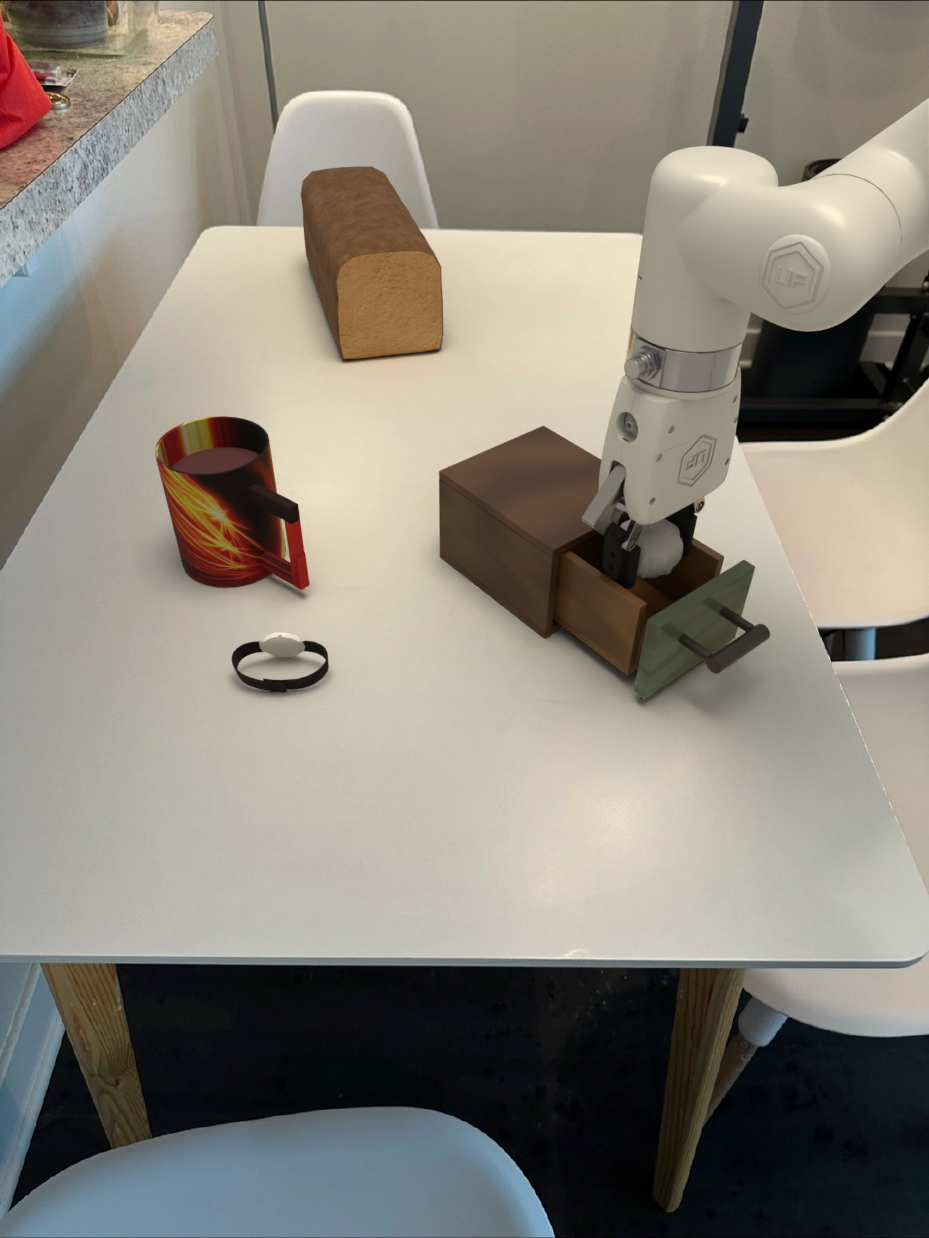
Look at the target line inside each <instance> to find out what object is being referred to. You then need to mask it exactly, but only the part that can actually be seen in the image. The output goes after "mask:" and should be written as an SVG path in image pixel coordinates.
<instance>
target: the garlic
mask: <svg viewBox="0 0 929 1238" xmlns="http://www.w3.org/2000/svg"><path fill="white" fill-rule="evenodd" d="M630 521H631V519H630V520H628V521H626V522H624V523H622V524H621V526H620V527H622V528H623V529H624V530H626V531H627V528H628V526H629V523H630ZM637 545H638V546H639V547H640V548H641V553H640V559H639V565H638V570H637V576H636V578H641V579H653V578H656V577H658V576H661V575H667V574H669V573H670V572H671V570H672V568H673V567H674V566H676V565H677V564H678V562H679V561H680V559H681V557H682V553H683V542H682V539H681V538H680V531H679V528H678V527H677V526H676V525H674V524H673V523H671V522H669V521H667V520H666V519H662V520H660V521H658V522H655V523H653V524H649V525H644V527H643V529H642V532H641V534H640V537H639V539H638V541H637Z"/></svg>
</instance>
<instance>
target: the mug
mask: <svg viewBox="0 0 929 1238" xmlns="http://www.w3.org/2000/svg"><path fill="white" fill-rule="evenodd" d="M154 457H155V461H156V464H157V469H158V473H159V476H160V480H161V481H160V482H161V485H162V488H163V493H164V497H165V500H166V504H167V508H168V513H169V516H170V520H171V525H172V529H173V533H174V537H175V540H176V545H177V549H178V553H179V557H180V560H181V564H182V568H183V570H184V572H185V573H186V574H187V576H189V577H190V578H191V579H192V580H194V581H195V582H198V583H200V584H202V585H205V586H209V587H212V588H213V587H214V588H237V587H242V586H247V585H250V584H254V583H256V582H258V581H259V582H260V581H261V580H263V579H265V578H267V577H268V576H270V575H274V576H276V577H278V578H280V579H281V580H283V581H284V582H286V583H288V584H290V585H292V586H293V587H295V588H296V589H298V590H300V591H303V590H305V589H306V588H309V586H310V579H309V570H308V563H307V562H308V561H307V555H306V552H305V547H304V539H303V531H302V524H301V516H300V509H299V503H297V502H295V501H294V500H291V499H290V498H288V497H285V496H284V495H282V494H280V493H278V490H277V483H276V476H275V470H274V463H273V455H272V449H271V443H270V437H269V434H268V432H267V431H266V429H265V428H264V427H262V426H261V425H260V424H258V423H256V422H254V421H252V420H249V419H247V418H243V417H238V416H228V415H227V416H226V415H224V416H223V415H222V416H221V415H219V416H218V415H217V416H208V417H201V418H197V419H193V420H190V421H185V422H183V423H181V424H179V425H176V426H174V427H172V428H171V429H169V430H168V431H167V432H165V433H164V434H163V435H162V436H161V437H159V439H158V441H157V442H156V444H155V447H154ZM282 520H283V522H284V529H285V535H286V542H287V547H286V543H285V535H284V529H283V522H282ZM287 549H288V556H289V561H288V560H286V559H285V557H286V552H287Z"/></svg>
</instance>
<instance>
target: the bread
mask: <svg viewBox="0 0 929 1238" xmlns="http://www.w3.org/2000/svg"><path fill="white" fill-rule="evenodd" d="M300 189H301V190H300V200H301V207H302V228H303V239H304V248H305V256H306V260H307V263H308V266H309V270H310V272H311V274H312V278H313V280H314V283H315V286H316V290H317V292H318V295H319V298H320V302H321V305H322V307H323V310H324V313H325V316H326V318H327V320H328V323H329V325H330V326H329V327H330V328H331V331H332V334H333V337H334V340H335V343H336V346H337V349H338V351H339V354H340V358H341V359H342V360H362V359H371V358H379V357H380V358H381V357H389V356H400V355H408V354H417V353H418V354H419V353H427V352H432V351H436V350H441V349H442V344H443V339H444V298H443V283H442V282H443V280H442V266H441V264H440V262H439V259H438V257H437V256H436V254H435V252H434V250H433V248H432V246H431V245H430V244H429V242H428V240H427V238H426V236H425V235H424V234H423V232H422V231H421V229H420V228H419V226H418V223H416V220H414V218H413V216H412V214H411V212H410V211H409V209H408V207H407V206H406V205H405V203H404V202H403V200H402V199H401V196H399V194H398V192H397V190H396V188H395V187H394V186H393V184H392V183H391V181H390V179H389V178H388V176H387V174H386V173H385V172H384V171H382V170H380V169H378V168H376V167H374V166H339V167H330V168H323V169H319V170H311V171H310V173H309V174H308V175H307V176H306V177H305V178H304V179H303V180H302V183H301V188H300Z"/></svg>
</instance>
